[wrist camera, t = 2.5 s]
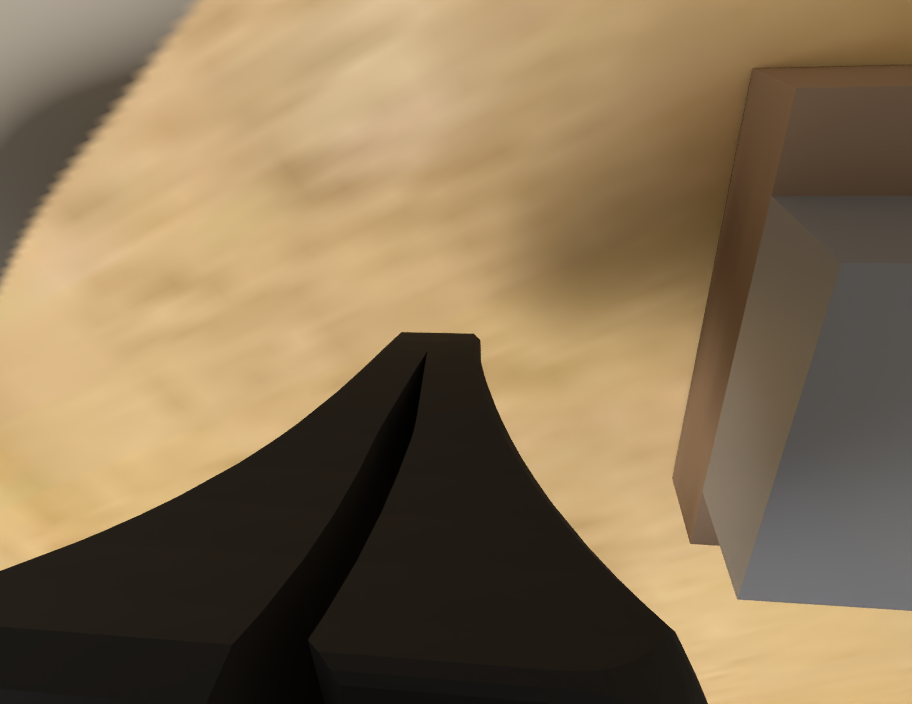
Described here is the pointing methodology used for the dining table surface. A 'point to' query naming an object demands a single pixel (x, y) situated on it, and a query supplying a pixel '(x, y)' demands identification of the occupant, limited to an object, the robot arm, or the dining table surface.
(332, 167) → the dining table surface
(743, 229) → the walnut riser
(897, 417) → the slate tile
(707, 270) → the dining table surface
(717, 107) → the dining table surface
